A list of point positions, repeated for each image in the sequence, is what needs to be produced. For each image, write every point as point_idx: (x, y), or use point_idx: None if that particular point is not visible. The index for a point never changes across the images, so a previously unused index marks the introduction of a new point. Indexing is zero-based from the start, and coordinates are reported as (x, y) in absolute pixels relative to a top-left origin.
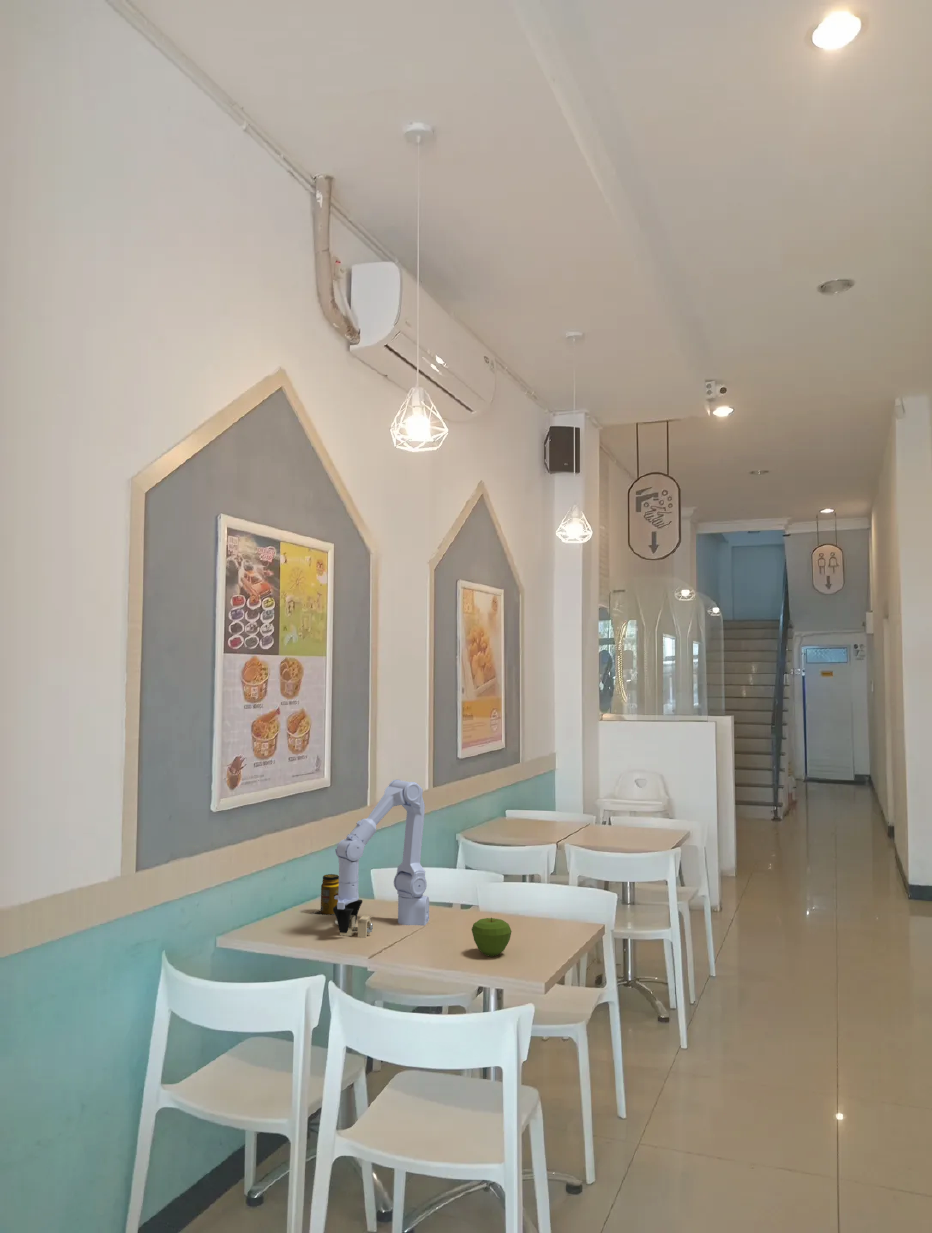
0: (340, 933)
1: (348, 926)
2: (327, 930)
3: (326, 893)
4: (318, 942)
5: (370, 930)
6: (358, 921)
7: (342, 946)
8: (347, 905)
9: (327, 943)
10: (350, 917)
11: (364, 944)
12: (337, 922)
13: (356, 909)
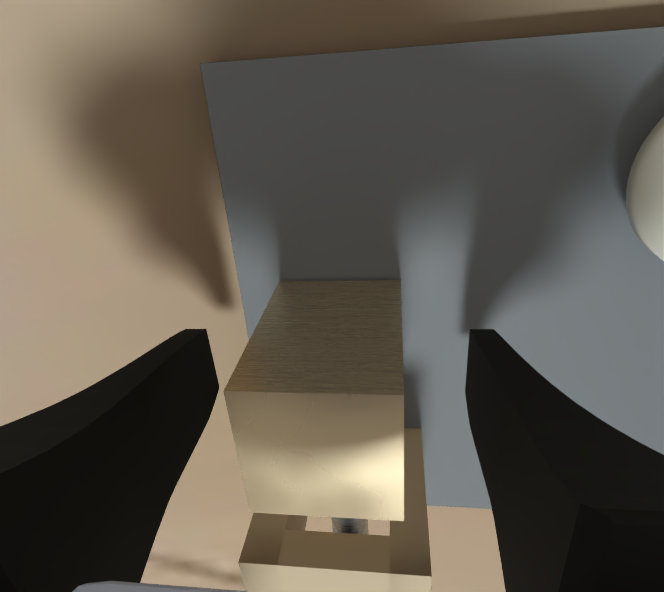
0: (277, 292)
1: (198, 437)
2: (582, 5)
3: None
4: (88, 113)
5: (333, 531)
6: (246, 545)
7: (93, 351)
8: (545, 520)
9: (103, 213)
10: (283, 492)
11: (206, 465)
12: (656, 144)
13: (507, 572)
